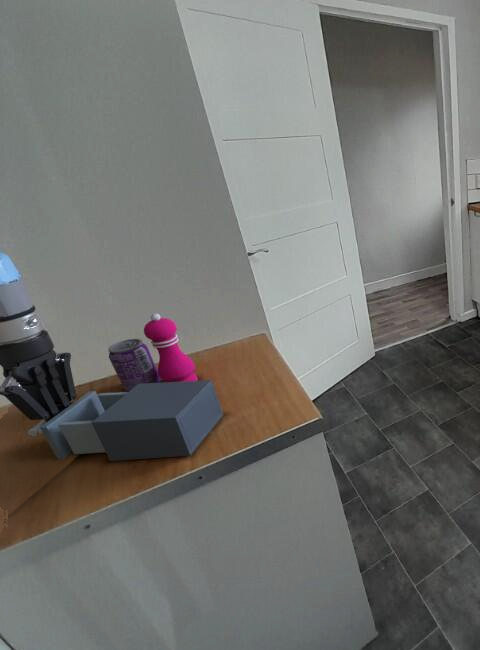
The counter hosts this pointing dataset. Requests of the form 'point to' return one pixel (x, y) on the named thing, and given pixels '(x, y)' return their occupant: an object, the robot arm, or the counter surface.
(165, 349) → the pepper mill
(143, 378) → the beverage can
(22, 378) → the robot arm
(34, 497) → the counter surface
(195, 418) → the cabinet
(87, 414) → the drawer
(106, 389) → the counter surface
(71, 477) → the counter surface
